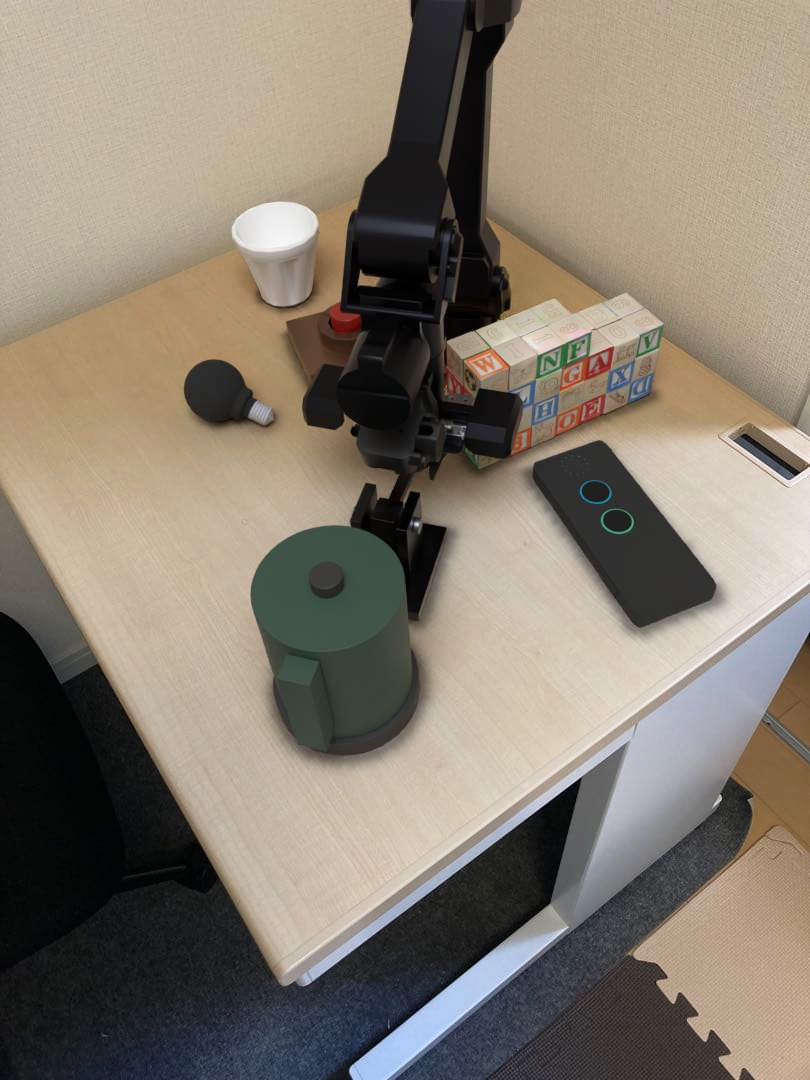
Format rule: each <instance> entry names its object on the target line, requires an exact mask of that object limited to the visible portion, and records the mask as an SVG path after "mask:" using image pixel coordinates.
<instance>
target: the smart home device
mask: <svg viewBox="0 0 810 1080" xmlns="http://www.w3.org/2000/svg"><path fill="white" fill-rule="evenodd" d="M532 467H533V469H532V479H533V481H534V483H535V484H536V486H537V487H538V489H539V491H541V493H542V494H543V496H544V497H545V499H546V500H547V501H548V502H549V504H550V506H551V507H552V509H553V510H554V512H555V513H556V514H557V516H558V517H559V519H560V520H561V522H562V523H563V524H564V526H565V527H566V530H568V532H569V533H570V535H571V536H572V538H573V539H574V541H575V542H576V543H577V545H578V546H579V548H580V549H581V551H582V552H583V553H584V555H585V556H586V558H587V559H588V561H589V562H590V564H591V565H592V567H593V568H594V570H595V571H596V573H597V574H598V576H599V577H600V578H601V579H602V581H603V582H604V584H605V585H606V587H607V588H608V590H609V591H610V593H611V594H612V596H613V597H614V598H615V600H616V601H617V602H618V604H619V605H620V607H621V609H622V610H623V611H624V613H625V614H626V615H627V617H628V618H629V620H630V621H631V622H632V624H634V625H635V626H637V627H638V628H644V627H646V626H649V625H651V624H653V623H655V622H659V621H660V620H663V619H666V618H668V617H671V616H673V615H676V614H678V613H681V612H683V611H686V610H688V609H691V608H693V607H695V606H698V605H701V604H704V603H706V602H708V601H711V600H713V598H714V595H715V592H716V590H717V583H716V581H715V580H714V578H713V576H712V575H711V574H710V572H709V571H708V570H707V569H706V567H705V566H704V565H703V563H701V561H700V559H698V558H697V556H696V555H695V554H694V552H693V551H692V550H691V549H690V547H689V546H688V545H687V543H686V542H685V540H683V538H682V537H681V536H680V534H679V533H678V532H677V531H676V529H674V527H673V526H672V525H671V523H670V522H669V521H668V520H667V519H666V516H665V515H664V514H663V512H661V511H660V509H659V508H658V507H657V506H656V504H655V503H654V502H653V500H651V498H650V497H649V495H648V494H647V493H646V491H644V489H643V488H642V486H641V485H640V484H639V483H638V482H637V480H636V479H635V478H634V476H633V475H632V474H631V473H630V471H629V470H628V469H627V467H626V466H625V465H624V464H623V462H622V461H621V460H620V459H619V457H618V456H617V455H616V454H615V452H614V451H613V450H612V449H611V447H610V446H609V445H608V444H607V443H606V442H604V441H603V440H601V439H597V440H594V441H591V442H589V443H586V444H583V445H580V446H577V447H574V448H571V449H569V450H566V451H563V452H559V453H557V454H555V455H551V456H549V457H546V458H542V459H540V460H537V461H535V462H533V466H532Z"/></svg>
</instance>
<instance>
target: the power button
mask: <svg viewBox="0 0 810 1080" xmlns="http://www.w3.org/2000/svg"><path fill="white" fill-rule="evenodd" d="M340 304H341V301H338V302H336V303H335V304H333V305H331V306H332V308H331V309H330V317H331V324H332V327H333V329H334V330H335V331H337V332H342V333H351V332H355V331H358V330H359V329H361V318H360V315H356V314H348V313H341V311H340Z"/></svg>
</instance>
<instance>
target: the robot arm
mask: <svg viewBox="0 0 810 1080" xmlns="http://www.w3.org/2000/svg"><path fill="white" fill-rule="evenodd" d="M522 3H523V0H410V3H409V4H410V8H409V9H410V11H409V15H410V19H411V24H412V25H411V32H410V36H409V41H408V45H407V52H406V58H405V62H404V67H403V72H402V77H401V82H400V88H399V93H398V99H397V102H396V108H395V113H394V118H393V125H392V129H391V134H390V138H389V144H388V148H387V152H386V155H385V157H383V158H382V160H381V161H380V162H379V163H377V165H376V166H375V167H374V168H373V169H372V170H371V171H370V172H369V173H368V174H367V175H366V176H365V177H364V180H363V185H362V188H361V192H360V195H359V199H358V203H357V207H356V208H355V209H353V210H352V211H351V213H350V215H349V219H348V223H347V229H346V237H345V249H344V259H343V260H344V261H343V273H342V281H341V283H342V284H341V292H340V293H341V295H340V302H341V304H340V311H341V313H348V314H356V315H360V318H361V331H360V333H359V335H358V338H357V340H356V342H355V345H354V347H353V349H352V351H351V354H350V356H349V358H348V360H347V363H346V365H345V367H343V366H337V365H330V364H323V365H322V366H321V367H320V368H318V370H317V372H316V374H315V376H314V378H313V380H312V382H311V384H310V383H309V385H308V388H307V389H306V391H305V393H304V396H302V402H301V410H302V416H303V420H304V422H305V424H306V425H307V427H312V428H319V429H326V430H329V431H337V430H338V429H339V428H341V427H343V426H344V423H345V422H346V421H345V420H346V419H345V416H346V417H347V418H348V419H349V420H351V421H352V426H351V428H350V431H349V433H350V435H351V436H352V437H353V438H356V440H355V442H356V443H355V444H356V448H357V450H358V453H359V454H360V457H361V459H362V462H363V463H364V465H365V466H367V467H368V468H371V469H380V470H385V471H391V472H393V473H394V474H395V475H397V476H399V474H400V473H402V474H410V473H412V472H414V471H415V470H416V469H417V467H423V468H426V465H427V463H428V462H429V467H428V480H429V481H432V482H434V481H435V478H436V476H437V474H438V472H439V470H440V468H441V465H442V463H443V461H444V459H445V458H446V457H447V456H448V454H449V455H454V456H459V455H460V454H462V453H463V452H464V451H463V450H464V447H466V448H467V449H468V450H469V451H470V452H471V453H473V454H475V455H481V456H487V457H492V458H498V459H502V460H504V459H508V458H510V457H512V456H511V453H512V449H513V446H514V442H515V439H516V436H517V432H518V429H519V425H520V422H521V419H522V415H523V401H522V399H521V398H520V396H519V395H518V394H515V393H508V392H502V391H496V390H489V389H483V388H479V389H478V392H477V395H476V398H475V401H474V396H470V395H464V394H458V393H449V394H447V393H446V394H445V388H446V383H447V374H446V372H445V368H446V367H447V341H449V340H451V339H454V338H456V337H459V336H461V335H464V334H466V333H469V332H471V331H476V330H478V329H480V328H483V327H485V326H487V325H490V324H493V323H495V322H497V321H500V320H501V319H502V315H503V314H504V313H506V312H507V311H510V310H511V307H512V287H511V284H510V273H509V272H508V270H507V268H506V267H505V266H503V265H501V241H500V239H499V238H498V236H497V235H496V233H495V231H494V230H493V228H492V226H491V225H490V223H489V221H488V219H487V209H488V208H487V205H488V187H489V186H488V185H489V167H490V166H489V165H490V145H491V143H490V141H491V123H492V121H491V120H492V102H493V101H492V99H493V81H494V80H493V79H494V61H495V59H496V57H497V55H498V53H499V52H500V50H501V48H502V47H503V46H504V43H505V42H506V39H507V38H508V36H509V34H510V33H511V31H512V29H513V27H514V24H515V18H516V17H517V16H518V15H519V13H520V11H521V8H522ZM361 273H362V274H363V276H365V277H373V278H379V279H378V280H377V282H376V284H374V285H375V286H373V285H364V284H359V280H360V275H361ZM473 403H474V404H473ZM509 456H510V457H509ZM507 457H508V458H507Z"/></svg>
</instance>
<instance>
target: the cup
mask: <svg viewBox="0 0 810 1080" xmlns="http://www.w3.org/2000/svg"><path fill="white" fill-rule="evenodd" d="M230 229H231V237H232V242H233V245H234V246H235V247H236V249H237V250H238V251H239V253H240V254H241V255H242V256H243V259H244V261H245V263H246V265H247V267H248V269H249V272H250V273H251V276H252V278H253V280H254V282H255V284H256V287H257V288H258V291H259V293H260V297H261V298H262V299H263V301H264V302H265V303H266V304H267V305H269V306H272V307H274V308H281V309H286V308H293V307H296V306H298V305H301V304H303V303H304V302H305V301H307V300H308V299H309V297H310V296H311V293H312V291H313V286H314V277H315V268H316V260H317V259H316V258H317V250H318V243H319V235H320V223H319V220H318V216H317V214H315V212H313V210H312V209H310V207H308V206H305V205H303V204H300V203H297V202H293V201H272V202H266V203H261V204H258V205H256V206H253V207H251V208H248V209H247V210H245V211H244V212H243V213H241V214H240V215H238V216H237V218H236V219H235V221H234V222H233V224H232V226H231V228H230Z"/></svg>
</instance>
